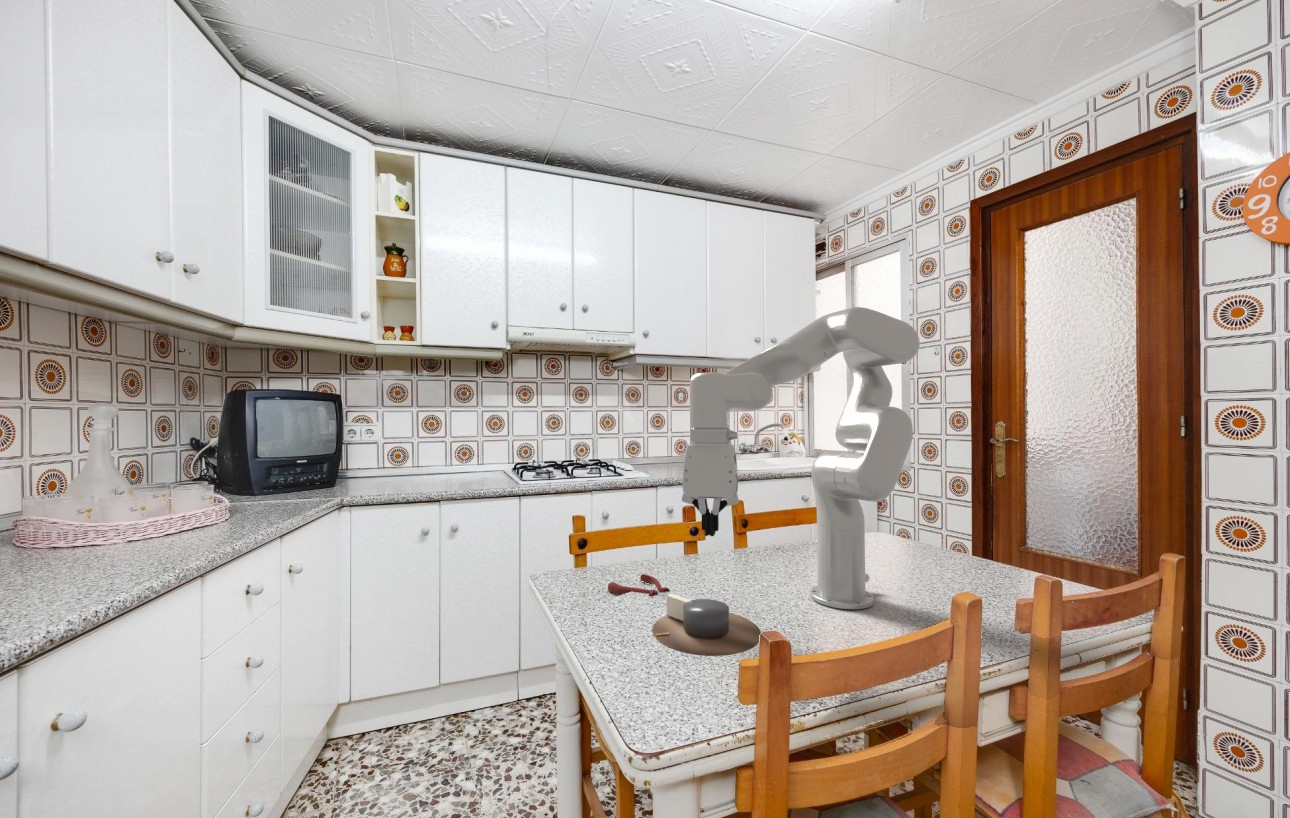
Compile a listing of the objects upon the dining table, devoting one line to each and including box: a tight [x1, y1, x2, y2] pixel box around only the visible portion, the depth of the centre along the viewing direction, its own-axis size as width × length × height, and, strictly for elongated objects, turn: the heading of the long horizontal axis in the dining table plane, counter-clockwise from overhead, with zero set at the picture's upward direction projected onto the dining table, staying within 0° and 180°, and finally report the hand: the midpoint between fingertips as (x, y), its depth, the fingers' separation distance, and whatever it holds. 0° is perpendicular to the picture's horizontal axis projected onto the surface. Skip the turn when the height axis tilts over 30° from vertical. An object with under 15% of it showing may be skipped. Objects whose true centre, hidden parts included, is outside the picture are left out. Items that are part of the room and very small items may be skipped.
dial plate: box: [651, 612, 762, 657], centre depth 88 cm, size 19×19×2 cm
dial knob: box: [666, 593, 730, 638], centre depth 90 cm, size 13×8×4 cm, turn 44°
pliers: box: [607, 573, 671, 600], centre depth 108 cm, size 12×20×3 cm, turn 38°
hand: (710, 534), depth 94 cm, fingers closed
